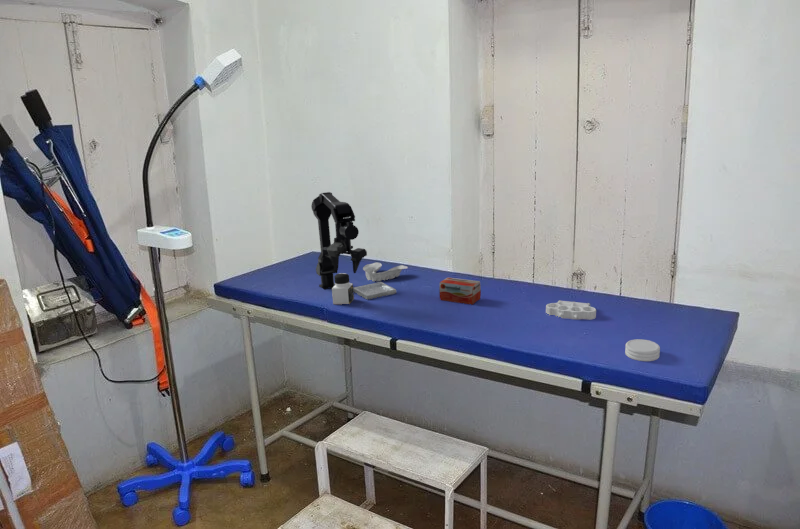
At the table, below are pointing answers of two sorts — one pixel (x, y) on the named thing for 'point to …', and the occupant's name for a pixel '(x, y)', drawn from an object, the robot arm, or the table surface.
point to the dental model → (373, 268)
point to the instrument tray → (374, 290)
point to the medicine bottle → (342, 289)
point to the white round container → (642, 350)
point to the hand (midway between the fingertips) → (345, 271)
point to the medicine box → (460, 290)
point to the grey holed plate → (571, 310)
